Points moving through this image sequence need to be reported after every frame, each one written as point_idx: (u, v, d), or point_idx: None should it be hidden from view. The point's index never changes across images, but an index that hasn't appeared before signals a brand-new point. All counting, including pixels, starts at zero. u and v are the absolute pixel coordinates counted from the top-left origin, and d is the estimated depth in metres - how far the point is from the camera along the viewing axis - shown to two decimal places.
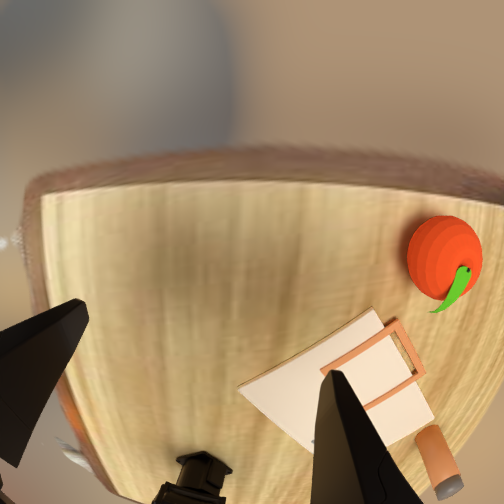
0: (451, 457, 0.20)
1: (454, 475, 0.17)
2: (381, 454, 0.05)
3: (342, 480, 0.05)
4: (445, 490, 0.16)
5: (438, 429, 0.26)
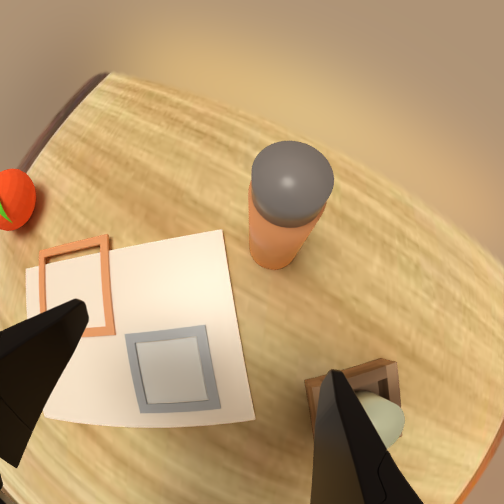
0: None
1: None
2: (381, 454, 0.05)
3: (342, 480, 0.05)
4: (255, 191, 0.12)
5: None
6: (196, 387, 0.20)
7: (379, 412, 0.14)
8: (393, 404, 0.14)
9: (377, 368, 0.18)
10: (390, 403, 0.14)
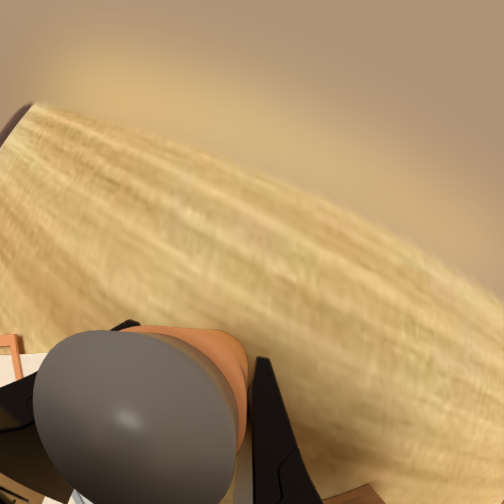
0: None
1: None
2: (288, 450, 0.05)
3: (246, 472, 0.05)
4: None
5: None
6: None
7: None
8: None
9: None
10: None
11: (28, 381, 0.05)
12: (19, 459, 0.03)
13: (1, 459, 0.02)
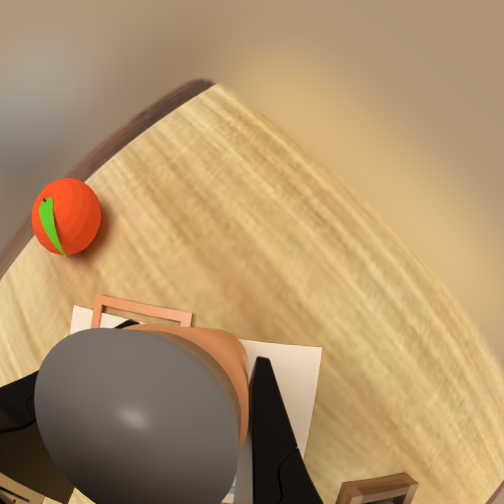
0: None
1: None
2: (288, 450, 0.05)
3: (246, 472, 0.05)
4: None
5: None
6: None
7: None
8: None
9: (403, 486, 0.15)
10: None
11: (28, 381, 0.05)
12: (19, 459, 0.03)
13: (1, 459, 0.02)
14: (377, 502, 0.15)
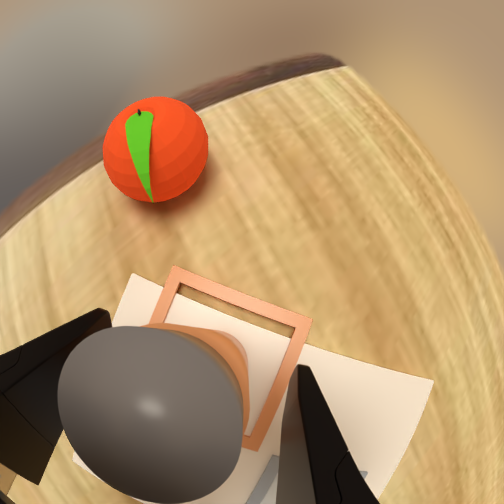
0: None
1: None
2: (341, 454, 0.05)
3: (299, 478, 0.05)
4: None
5: None
6: None
7: None
8: None
9: None
10: None
11: (1, 359, 0.05)
12: None
13: None
14: None
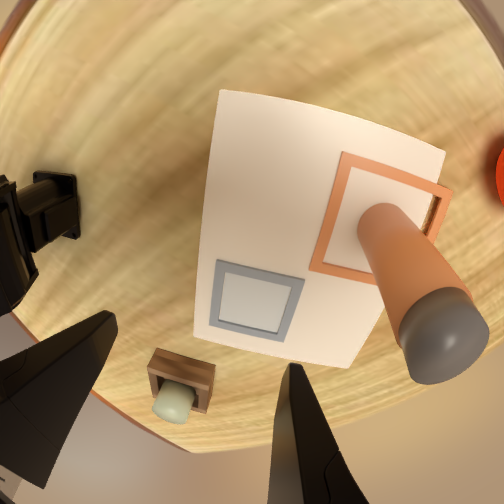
0: (443, 257, 0.12)
1: None
2: (331, 454, 0.05)
3: (289, 478, 0.05)
4: (440, 322, 0.08)
5: None
6: (232, 316, 0.24)
7: (180, 419, 0.25)
8: (182, 423, 0.26)
9: (206, 407, 0.29)
10: (183, 423, 0.26)
11: (6, 364, 0.05)
12: None
13: None
14: (194, 393, 0.28)
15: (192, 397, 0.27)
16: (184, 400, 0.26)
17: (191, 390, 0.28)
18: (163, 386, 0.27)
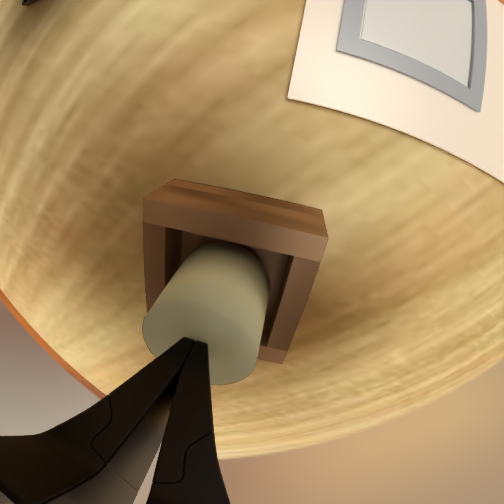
0: None
1: None
2: (201, 433, 0.05)
3: None
4: None
5: None
6: (388, 34, 0.07)
7: (234, 361, 0.09)
8: (236, 380, 0.09)
9: None
10: (241, 378, 0.09)
11: (86, 418, 0.04)
12: None
13: None
14: (269, 289, 0.12)
15: (266, 296, 0.11)
16: (250, 292, 0.09)
17: (263, 275, 0.11)
18: (183, 264, 0.11)
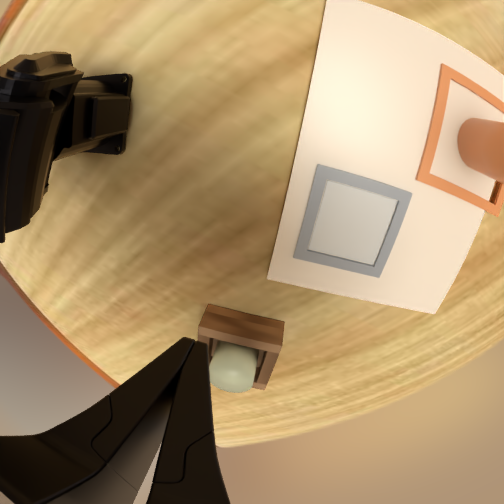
0: None
1: None
2: (202, 433, 0.05)
3: None
4: None
5: None
6: (325, 243, 0.20)
7: (244, 384, 0.22)
8: (244, 390, 0.22)
9: None
10: (247, 390, 0.22)
11: (86, 418, 0.04)
12: None
13: None
14: None
15: (257, 355, 0.24)
16: (250, 358, 0.23)
17: None
18: (221, 343, 0.24)
